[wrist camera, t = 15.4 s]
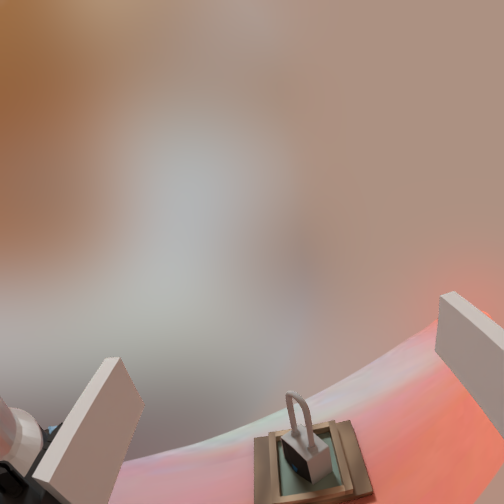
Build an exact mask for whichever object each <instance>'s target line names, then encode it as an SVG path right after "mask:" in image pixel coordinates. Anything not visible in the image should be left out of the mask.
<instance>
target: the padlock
mask: <svg viewBox="0 0 504 504" xmlns="http://www.w3.org/2000/svg"><path fill="white" fill-rule="evenodd" d="M292 398H294V399H295V400H296V401H297V402H298V403H299V405H300V406H301V408H302V410H303V414H304V418H305V424H306V427H305V426H303V425H302V424H300V425H299V426H297V424H296V419H295V414H294V408H293V403H292ZM286 403H287V409H288V414H289V418H290V423H291V428H292V430H291V431H289V432H288V433H286V434H284V435H283V436H281V437H280V439H281V444H282V449H283V454H284V458H285V459H286V461H287V462H288V463H289V465H290V466H291V467H292V469H293V470H294V471H295V473H297V474H298V475H300V476H301V477H303V478H304V479H306V480H307V481H309V482H310V483H312V484H313V485H314V484H315V483H317V482H318V481H319V480H321V479H322V478H324V477H325V476H326V475H328V474H329V473H331V472H332V471H333V469H332V462H331V456H330V449H329V446H328V445H327V444H326V443H325V442H324V441H322V440H321V439H320V438H319V437H318V436H317V435H316V434H315V433H313V428H312V421H311V415H310V411H309V408H308V405H307V403H306V402H305V400H304V399H303V398H302V397H301V396H300V395H299V394H298V393H296V392H295V391H288V392H287V393H286Z"/></svg>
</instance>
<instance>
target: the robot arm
mask: <svg viewBox="0 0 504 504" xmlns="http://www.w3.org/2000/svg"><path fill="white" fill-rule="evenodd" d="M435 351H436V353H437V354H438V355H439V356H440V357H441V359H442V360H443V361H444V362H445V363H446V365H447V366H448V367H449V368H450V369H451V371H452V372H453V373H454V374H455V376H456V377H457V378H458V379H459V381H460V382H461V383H462V384H463V386H464V387H465V388H466V389H467V391H468V392H469V393H470V394H471V396H472V397H473V398H474V400H475V401H476V402H477V403H478V405H479V406H480V407H481V409H482V410H483V411H484V413H485V414H486V415H487V417H488V418H489V419H490V421H491V422H492V423H493V425H494V426H495V428H496V429H497V430H498V432H499V433H500V434H501V436H502V437H503V439H504V330H503V329H502V328H501V327H500V326H499V325H497V324H496V323H495V322H494V321H493V320H491V319H490V318H489V317H488V316H486V315H485V314H484V313H482V312H481V311H480V310H479V309H477V308H476V307H475V306H473V305H472V304H471V303H469V302H468V301H467V300H466V299H464V298H463V297H462V296H460V295H459V294H458V293H456V292H455V291H453V292H450V293H447V294H444V295H440V303H439V316H438V327H437V336H436V345H435ZM144 406H145V404H144V403H143V401H142V399H141V397H140V395H139V394H138V392H137V390H136V388H135V386H134V384H133V382H132V380H131V378H130V376H129V374H128V372H127V370H126V368H125V366H124V364H123V362H122V360H121V358H120V357H116V358H106V359H105V360H104V361H103V363H102V364H101V366H100V367H99V369H98V370H97V372H96V373H95V375H94V376H93V378H92V379H91V381H90V382H89V384H88V385H87V387H86V388H85V390H84V391H83V393H82V394H81V396H80V398H79V399H78V401H77V402H76V404H75V406H74V407H73V408H72V410H71V412H70V413H69V415H68V416H67V418H66V420H65V421H64V423H61V424H60V425H58V426H54V427H51V426H49V427H48V429H47V430H43V429H42V428H41V427H40V425H39V424H38V423H37V422H36V420H35V419H34V418H33V417H32V416H31V415H30V414H29V413H27V412H25V411H23V410H21V409H18V408H11V407H8V406H7V405H6V404H5V402H4V401H3V399H2V398H1V397H0V504H108V501H109V498H110V495H111V493H112V490H113V487H114V484H115V482H116V479H117V476H118V473H119V471H120V468H121V465H122V463H123V460H124V457H125V455H126V452H127V449H128V447H129V444H130V442H131V439H132V436H133V434H134V431H135V428H136V426H137V424H138V421H139V418H140V416H141V413H142V410H143V408H144Z"/></svg>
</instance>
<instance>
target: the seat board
mask: <svg viewBox="0 0 504 504" xmlns="http://www.w3.org/2000/svg"><path fill="white" fill-rule="evenodd" d="M305 427H306V426H305ZM312 428H313V433H315V434H316V435H317V436H318V437H319V438H320V439H321V440H322V441H324V442H325V443H326V444H327V445H328V446H329V449H330V456H331V462H332V469H333V471H332V472H331V473H329V474H328V475H326V476H325V477H324V478H322V479H321V480H319V481H318V482H317V483H315V484H314V485H313V484H312V483H310V482H309V481H307V480H306V479H304V478H303V477H301V476H300V475H298V474H297V473H295V471H294V470H293V469H292V467H291V466H290V465H289V463H288V462H287V461H286V459H285V458H284V454H283V449H282V444H281V439H280V437H281V436H283V435H284V434H286V433H288V432H289V431H291V430H292V429H288V430H282V431H276V432H269V436H265V437H257V438H254V504H337V503H342V502H346V501H350V500H354V499H358V498H361V497H365V496H368V495H372V492H373V490H372V487H371V484H370V480H369V477H368V474H367V471H366V468H365V464H364V461H363V458H362V455H361V452H360V449H359V446H358V443H357V440H356V437H355V434H354V431H353V428H352V425H351V422H350V420H347V421H343V422H339V423H335V420H333V421H329V422H324V423H320V424H315V425H312Z"/></svg>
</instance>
